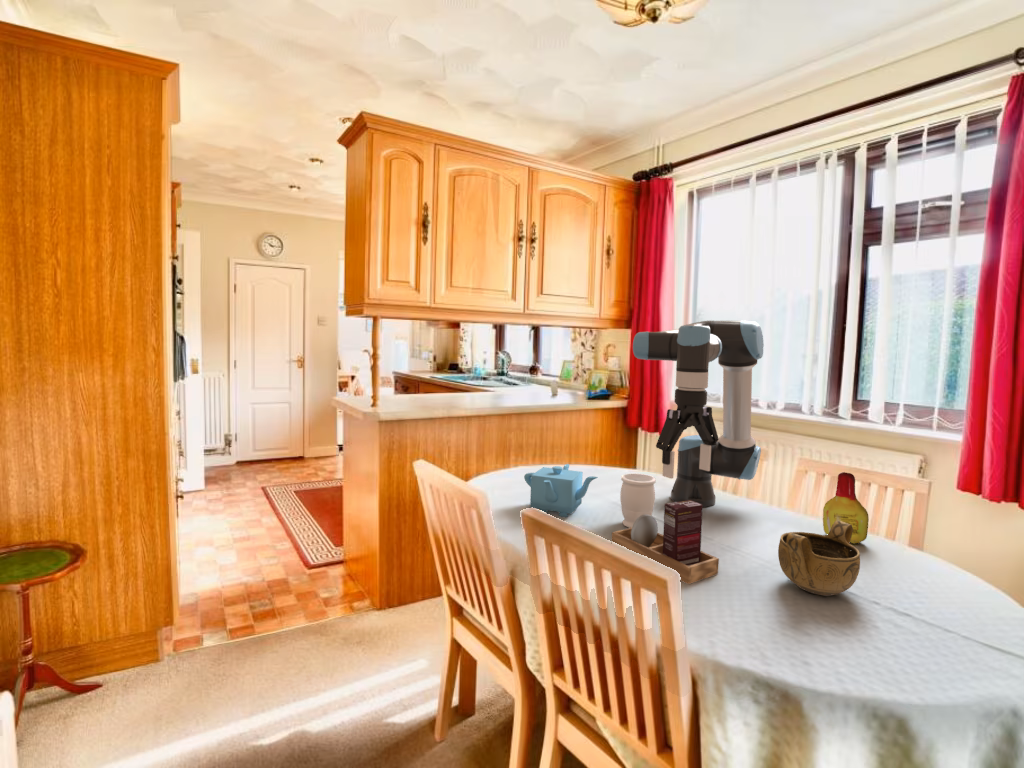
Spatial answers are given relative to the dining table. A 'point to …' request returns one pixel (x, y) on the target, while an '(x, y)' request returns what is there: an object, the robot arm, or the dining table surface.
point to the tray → (651, 545)
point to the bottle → (846, 509)
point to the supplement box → (683, 531)
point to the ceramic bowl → (820, 559)
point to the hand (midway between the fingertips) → (686, 473)
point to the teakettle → (557, 489)
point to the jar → (636, 497)
